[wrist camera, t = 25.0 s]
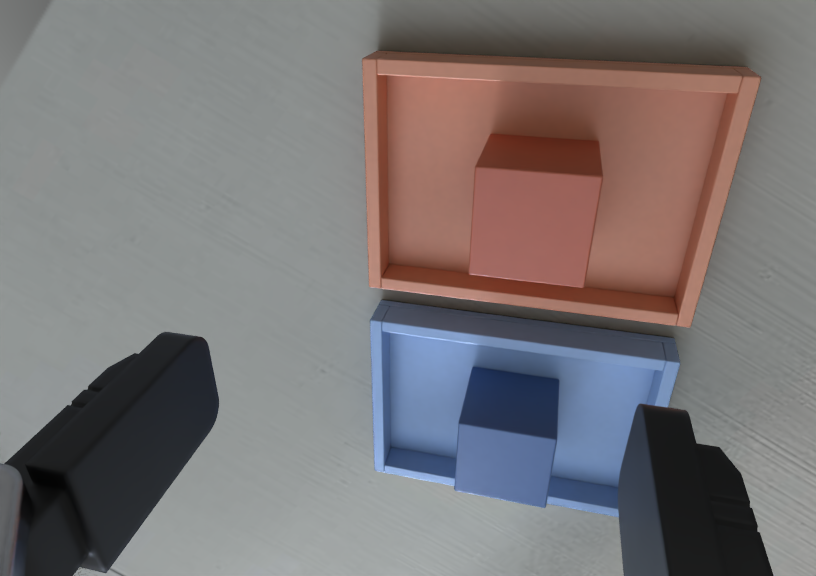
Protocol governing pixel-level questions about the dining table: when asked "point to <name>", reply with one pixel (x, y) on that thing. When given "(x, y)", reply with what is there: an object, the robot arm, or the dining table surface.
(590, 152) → the terracotta block
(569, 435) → the blue tray
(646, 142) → the clay tray
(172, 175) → the dining table surface
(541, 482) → the blue block
